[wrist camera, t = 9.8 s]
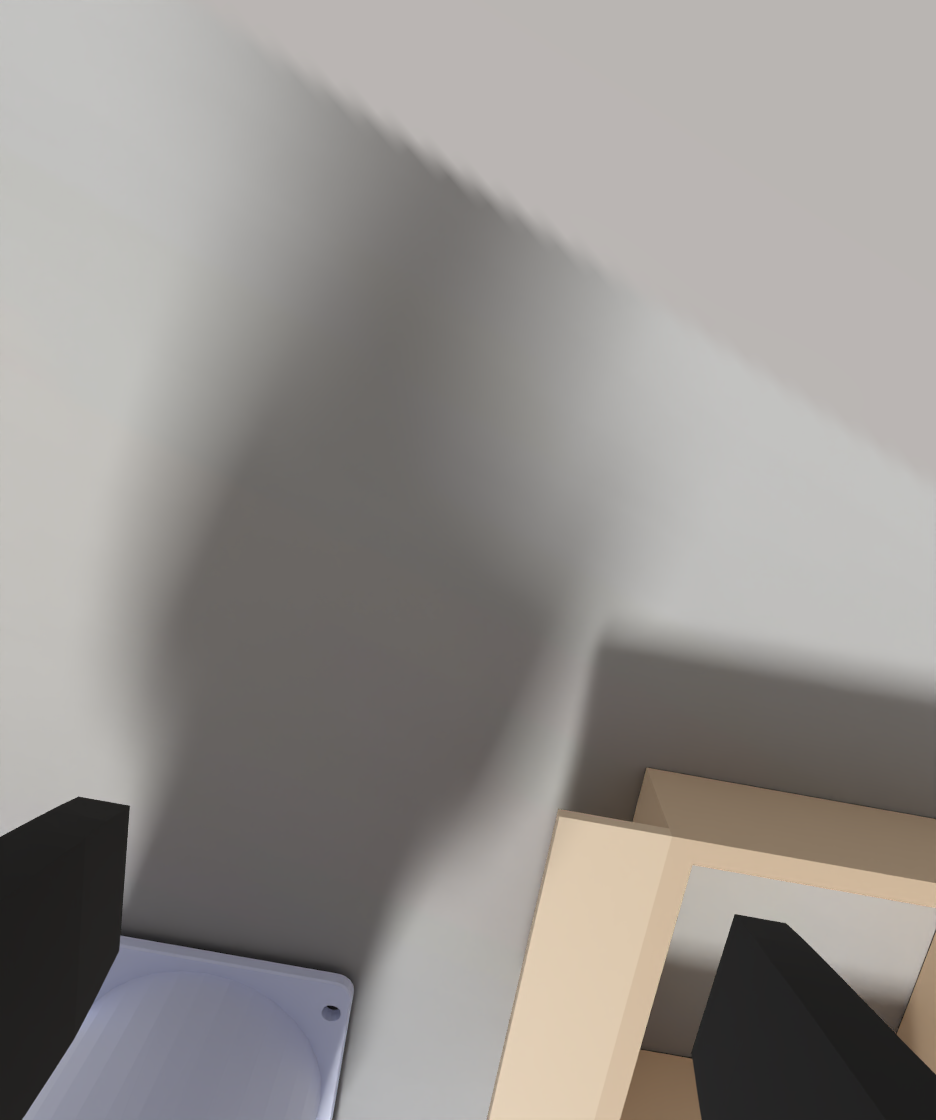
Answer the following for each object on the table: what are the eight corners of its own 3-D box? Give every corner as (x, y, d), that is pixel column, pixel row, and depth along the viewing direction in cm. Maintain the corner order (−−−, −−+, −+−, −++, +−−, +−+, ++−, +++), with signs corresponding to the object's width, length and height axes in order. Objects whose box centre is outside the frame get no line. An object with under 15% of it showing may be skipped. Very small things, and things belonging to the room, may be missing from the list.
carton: (975, 1125, 22) (1047, 1239, 19) (485, 1040, 22) (483, 1142, 19) (1094, 847, 20) (1196, 929, 17) (550, 750, 20) (559, 816, 17)
